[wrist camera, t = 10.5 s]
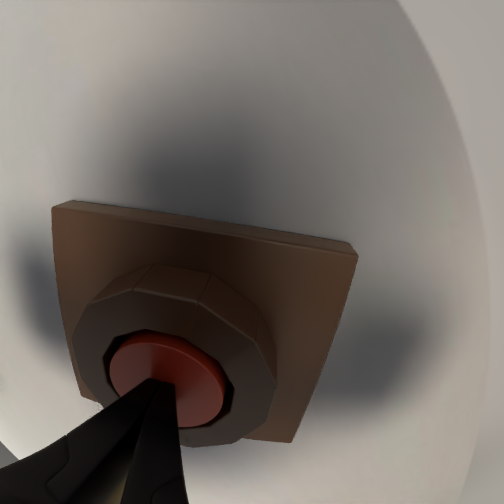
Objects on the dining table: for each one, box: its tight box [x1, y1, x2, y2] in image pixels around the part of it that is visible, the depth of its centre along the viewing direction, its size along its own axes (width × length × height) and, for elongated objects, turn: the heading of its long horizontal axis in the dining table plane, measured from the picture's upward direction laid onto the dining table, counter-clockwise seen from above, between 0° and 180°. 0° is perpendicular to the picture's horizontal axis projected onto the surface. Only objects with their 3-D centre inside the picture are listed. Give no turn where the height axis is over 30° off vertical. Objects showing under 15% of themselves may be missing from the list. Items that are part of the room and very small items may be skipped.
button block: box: [51, 201, 358, 448], centre depth 10 cm, size 10×9×3 cm
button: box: [110, 329, 228, 427], centre depth 9 cm, size 4×4×2 cm
